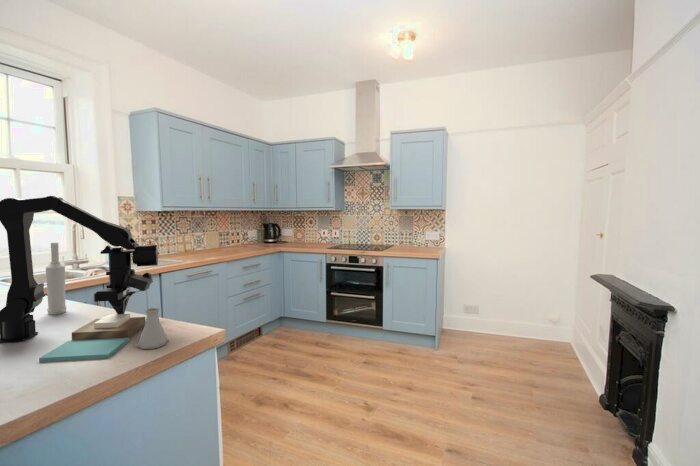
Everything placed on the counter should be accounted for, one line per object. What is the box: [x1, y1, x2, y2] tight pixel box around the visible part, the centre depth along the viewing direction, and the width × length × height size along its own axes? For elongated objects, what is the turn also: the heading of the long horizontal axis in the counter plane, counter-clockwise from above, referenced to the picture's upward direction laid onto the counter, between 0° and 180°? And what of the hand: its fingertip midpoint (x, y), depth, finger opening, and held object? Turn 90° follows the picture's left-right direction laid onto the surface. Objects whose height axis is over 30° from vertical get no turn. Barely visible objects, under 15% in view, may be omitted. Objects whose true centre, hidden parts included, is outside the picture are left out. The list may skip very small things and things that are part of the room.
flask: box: [136, 307, 169, 350], centre depth 91 cm, size 7×7×10 cm
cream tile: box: [94, 313, 131, 328], centre depth 100 cm, size 6×8×2 cm
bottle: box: [45, 241, 67, 316], centre depth 117 cm, size 5×5×25 cm
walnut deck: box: [71, 316, 146, 340], centre depth 99 cm, size 14×12×3 cm
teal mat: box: [38, 338, 130, 363], centre depth 87 cm, size 15×11×1 cm
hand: (121, 316), depth 105 cm, fingers closed
